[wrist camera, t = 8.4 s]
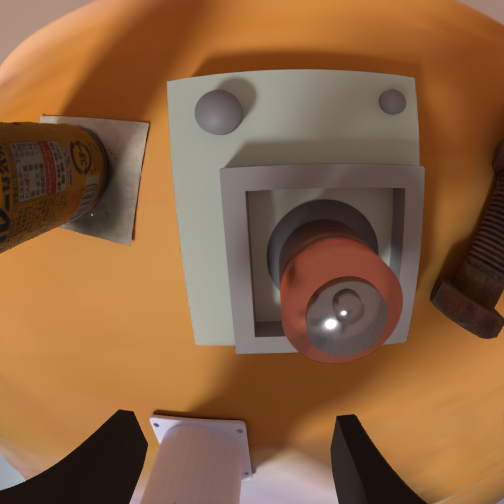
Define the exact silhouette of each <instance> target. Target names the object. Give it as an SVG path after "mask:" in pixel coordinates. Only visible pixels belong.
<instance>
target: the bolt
mask: <svg viewBox="0 0 504 504" xmlns="http://www.w3.org/2000/svg"><path fill="white" fill-rule="evenodd" d="M492 166H493V168H494V171H495V172H496V173H497V174H498V175H499V178H498V179H497V181H498V183H496V187H495V188H494V191H495V192H494V193H493V197H492V198H491V201H492V202H490V203H489V205H490V207H488V208H487V209H488V211H487V212H486V216H485V217H484V220H485V221H482V225H483V226H480V229H481V231H478V234H479V236H476V237H475V238H476V239H477V240H476V241H474V242H473V243H474V244H475V245H473V246H471V248H472V249H473V250H470V251H469V253H470V255H467V257H466V259H465V260H464V261H463V263H462V265H461V267H460V269H459V271H458V273H457V275H456V276H455V278H454V280H453V282H451V281H449V280H447V279H445V278H443V277H441V276H440V277H439V279H438V281H437V283H436V285H435V287H434V288H433V290H432V292H431V295H430V301H431V302H432V303H433V305H434V306H435V307H436V308H437V309H439V310H440V311H441V312H442V313H443V314H444V315H445V316H446V317H448V318H449V319H451V320H452V321H454V322H455V323H457V324H458V325H460V326H461V327H463V328H464V329H466V330H468V331H470V332H471V333H473V334H475V335H477V336H478V337H480V338H484V339H490V338H495V337H497V336H498V334H499V332H500V331H501V329H502V327H503V326H504V318H503V317H502V316H501V315H500V314H499V313H498V312H497V311H496V310H495V309H494V307H495V306H496V304H497V302H498V300H499V298H500V296H501V294H502V292H503V290H504V139H503V140H502V141H501V142H500V144H499V145H498V147H497V150H496V153H495V157H494V160H493V163H492Z"/></svg>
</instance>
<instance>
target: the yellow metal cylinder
mask: <svg viewBox="0 0 504 504" xmlns="http://www.w3.org/2000/svg"><path fill="white" fill-rule="evenodd" d="M148 126H149V123H143V122H134V121H124V120H112V119H101V118H85V117H65V116H40V122H39V123H34V122H13V123H3V122H0V254H1V253H3V252H5V251H6V250H8V249H11V248H12V247H14V246H17V245H19V244H21V243H23V242H25V241H27V240H30V239H33V238H34V237H36V236H38V235H40V234H43V233H45V232H47V231H49V230H52V229H54V228H56V227H61V228H65V229H69V230H72V231H75V232H79V233H82V234H85V235H90V236H94V237H99V238H103V239H107V240H110V241H113V242H116V243H121V244H125V245H129V246H131V238H132V231H133V223H134V216H135V207H136V202H137V194H138V187H139V180H140V175H141V166H142V160H143V154H144V150H145V142H146V137H147V131H148ZM108 149H110V151H111V153H108ZM111 154H114V155H115V156H116V157H115V159H114V158H113V157H112V155H111ZM91 214H93V216H91Z"/></svg>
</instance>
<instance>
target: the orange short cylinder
mask: <svg viewBox="0 0 504 504" xmlns="http://www.w3.org/2000/svg"><path fill="white" fill-rule="evenodd" d="M278 266H279V284H280V301H281V320H282V326H283V330H284V333H285V335H286V337H287V339H288V341H289V342H290V343H291V345H292V346H293V347H294V348H295V349H296V350H297V351H298V352H300V353H301V354H302V355H304V356H306V357H308V358H310V359H312V360H315V361H319V362H323V363H335V364H336V363H346V362H351V361H354V360H357V359H360V358H362V357H365V356H366V355H368V354H370V353H372V352H373V351H375V350H376V349H378V348H379V347H380V346H381V345H382V344H383V343H384V342H385V341H386V340H387V339H388V338H389V337H390V336H391V334H392V333H393V331H394V330H395V328H396V326H397V324H398V322H399V320H400V316H401V313H402V308H403V294H402V289H401V285H400V282H399V280H398V278H397V276H396V275H395V273H394V272H393V271H392V270H391V269H390V267H389V266H388V265H387V264H386V263H385V262H384V261H383V260H382V259H381V258H380V257H379V256H378V255H377V254H376V253H375V251H374V250H373V249H372V248H371V247H370V246H369V245H368V244H367V243H366V242H365V241H364V240H363V239H362V238H361V237H360V236H359V235H358V234H357V233H356V232H355V231H354V230H353V229H352V228H350V227H349V226H348V225H346V224H344V223H342V222H339V221H336V220H331V219H319V220H314V221H310V222H308V223H305V224H303V225H301V226H300V227H298V228H297V229H296V230H294V231H293V232H292V233H291V234H290V235H289V236H288V238H287V239H286V240H285V242H284V244H283V246H282V248H281V251H280V255H279V261H278Z"/></svg>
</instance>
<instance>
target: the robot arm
mask: <svg viewBox="0 0 504 504" xmlns="http://www.w3.org/2000/svg"><path fill="white" fill-rule="evenodd" d="M150 422H151V425H152V427H153V430H154V432H155V435H156V437H157V439H158V442H159V444H160V447H159V450H158V452H157V455H156V458H155V461H154V464H153V467H152V470H151V473H150V476H149V479H148V482H147V485H146V488H145V491H144V494H143V497H142V500H141V503H140V504H239V500H240V490H241V480H251V479H252V470H251V462H250V454H249V446H248V438H247V430H246V424H245V422H243V421H240V420H213V419H196V418H183V417H172V416H162V415H151V416H150ZM239 429H241V430H239ZM147 447H148V443H147V441H146V439H145V437H144V434H143V432H142V430H141V428H140V426H139V423H138V421H137V419H136V416H135V414H134V412H133V411H126V410H120V409H119V410H118V411H117V412H116V413H115V414H114V415H113V416H112V417H110V418H109V419H108V420H107V421H106V422H105V423H104V424H103V425H102V426H101V427H100V428H99V429H98V430H97V431H96V432H94V433H93V434H92V435H91V436H90V437H89V438H88V439H87V440H86V441H84V442H83V443H82V444H81V445H80V446H79V447H77V448H76V449H75V450H74V451H72V452H71V453H70V454H69V455H67V456H66V457H65V458H64V459H62V460H61V461H59V462H58V463H57V464H55V465H54V466H52V467H50V468H49V469H47V470H46V471H44V472H42V473H41V474H39V475H37V476H35V477H33V478H31V479H29V480H27V481H25V482H23V483H20V484H18V485H15V486H13V487H10V488H7V489H4V490H1V491H0V504H129V503H130V500H131V498H132V495H133V492H134V490H135V487H136V484H137V482H138V479H139V477H140V474H141V471H142V468H143V465H144V461H145V457H146V452H147ZM330 450H331V462H332V473H333V478H334V483H335V488H336V493H337V497H338V502H339V504H427V503H426V502H425V501H423V500H422V499H421V498H420V497H419V496H418V495H417V494H416V493H415V492H414V491H412V490H411V489H410V488H409V487H408V486H407V485H406V483H405V482H404V481H403V480H402V479H401V478H400V477H399V476H398V475H397V473H396V472H395V471H394V470H393V469H392V468H391V466H390V465H389V464H388V463H387V461H386V460H385V459H384V457H383V456H382V455H381V453H380V452H379V451H378V449H377V448H376V447H375V445H374V444H373V442H372V441H371V439H370V438H369V436H368V435H367V433H366V431H365V430H364V428H363V427H362V425H361V423H360V422H359V420H358V418H357V416H356V415H354V414H351V415H343V416H337V417H336V423H335V428H334V434H333V439H332V444H331V449H330Z"/></svg>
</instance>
